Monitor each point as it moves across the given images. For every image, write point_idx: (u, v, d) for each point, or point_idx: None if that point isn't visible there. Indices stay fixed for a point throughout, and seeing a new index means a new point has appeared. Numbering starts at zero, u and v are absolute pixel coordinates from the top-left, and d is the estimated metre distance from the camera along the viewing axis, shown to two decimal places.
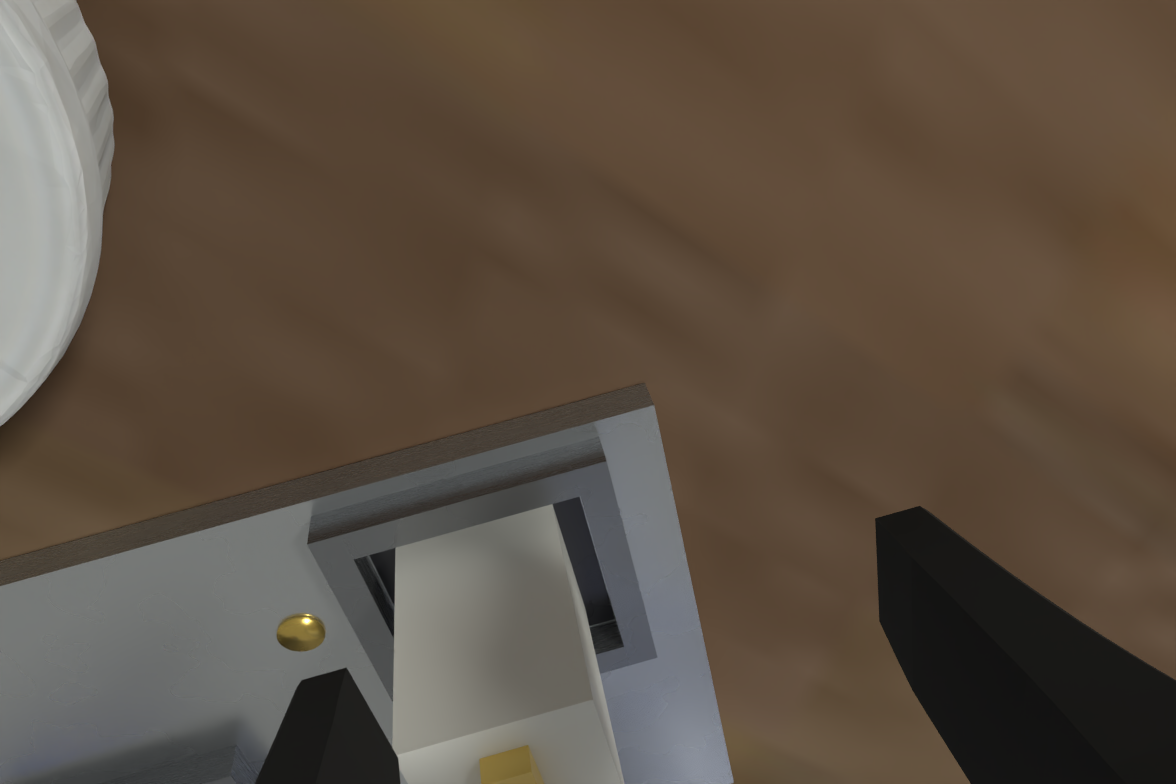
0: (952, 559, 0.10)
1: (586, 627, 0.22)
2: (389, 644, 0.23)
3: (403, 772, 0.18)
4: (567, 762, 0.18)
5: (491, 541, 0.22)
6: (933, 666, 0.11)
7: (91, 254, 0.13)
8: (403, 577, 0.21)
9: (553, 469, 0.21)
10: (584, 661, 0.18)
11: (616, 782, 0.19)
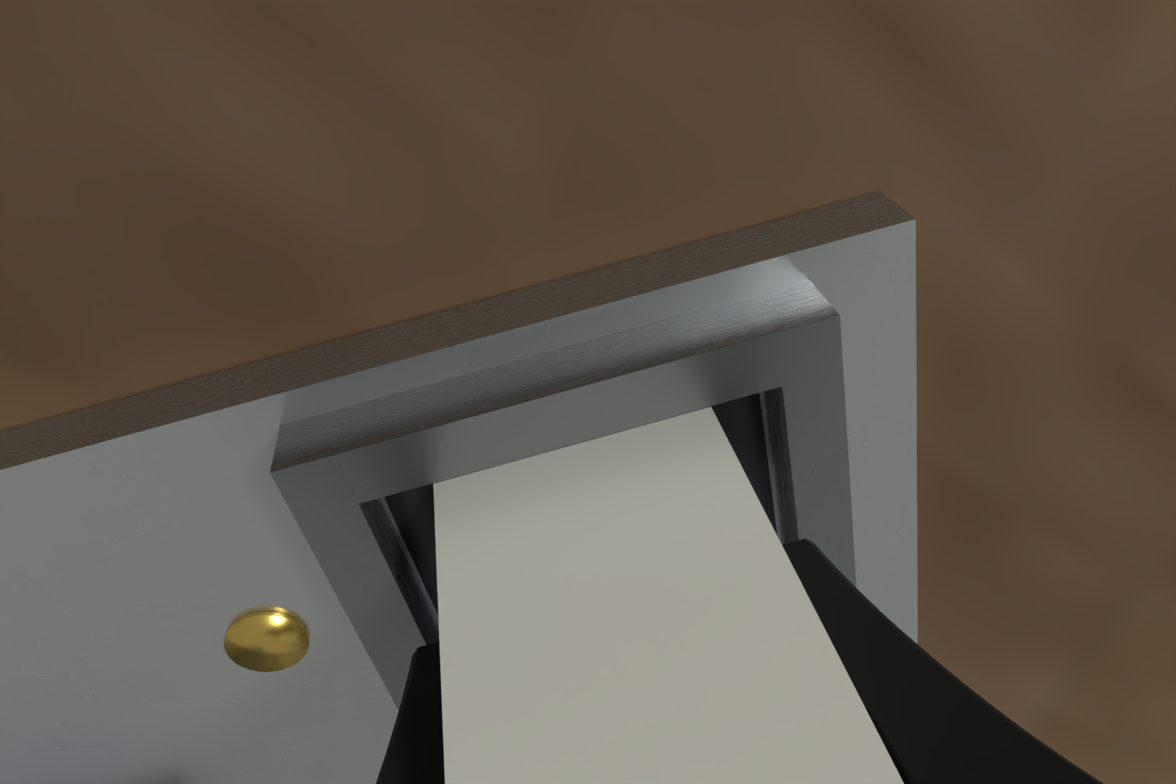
0: (824, 595, 0.10)
1: None
2: None
3: None
4: None
5: (611, 474, 0.12)
6: None
7: None
8: (451, 538, 0.11)
9: (736, 333, 0.11)
10: (861, 706, 0.08)
11: None
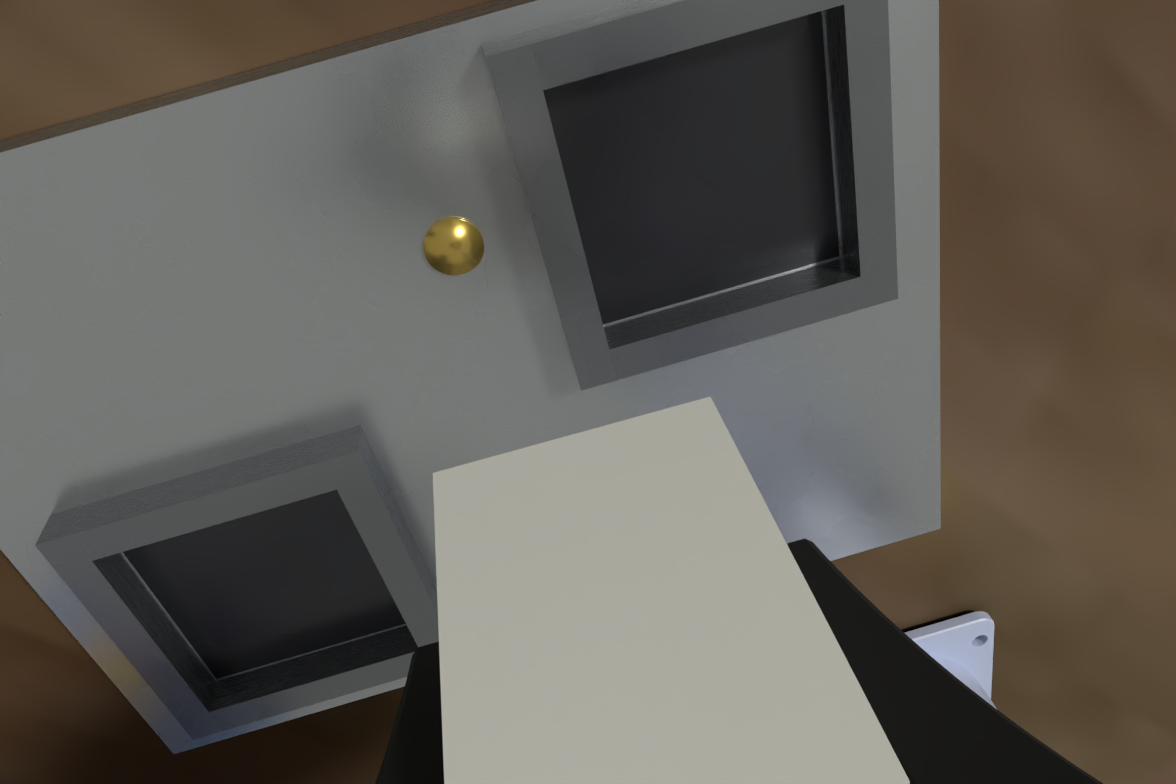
0: (824, 595, 0.10)
1: None
2: (574, 245, 0.17)
3: None
4: None
5: (610, 462, 0.12)
6: None
7: None
8: (450, 526, 0.11)
9: None
10: (860, 691, 0.08)
11: None
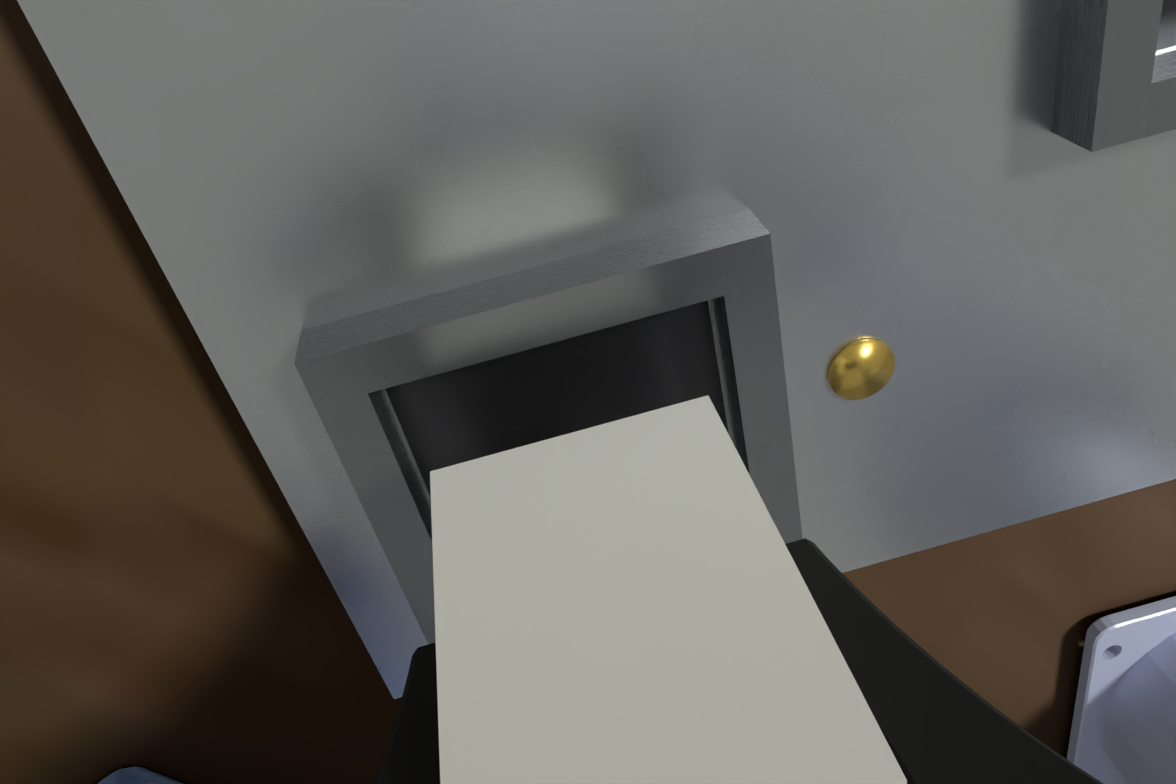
0: (825, 595, 0.10)
1: None
2: None
3: None
4: None
5: (607, 461, 0.12)
6: None
7: None
8: (447, 525, 0.11)
9: None
10: (857, 690, 0.08)
11: None
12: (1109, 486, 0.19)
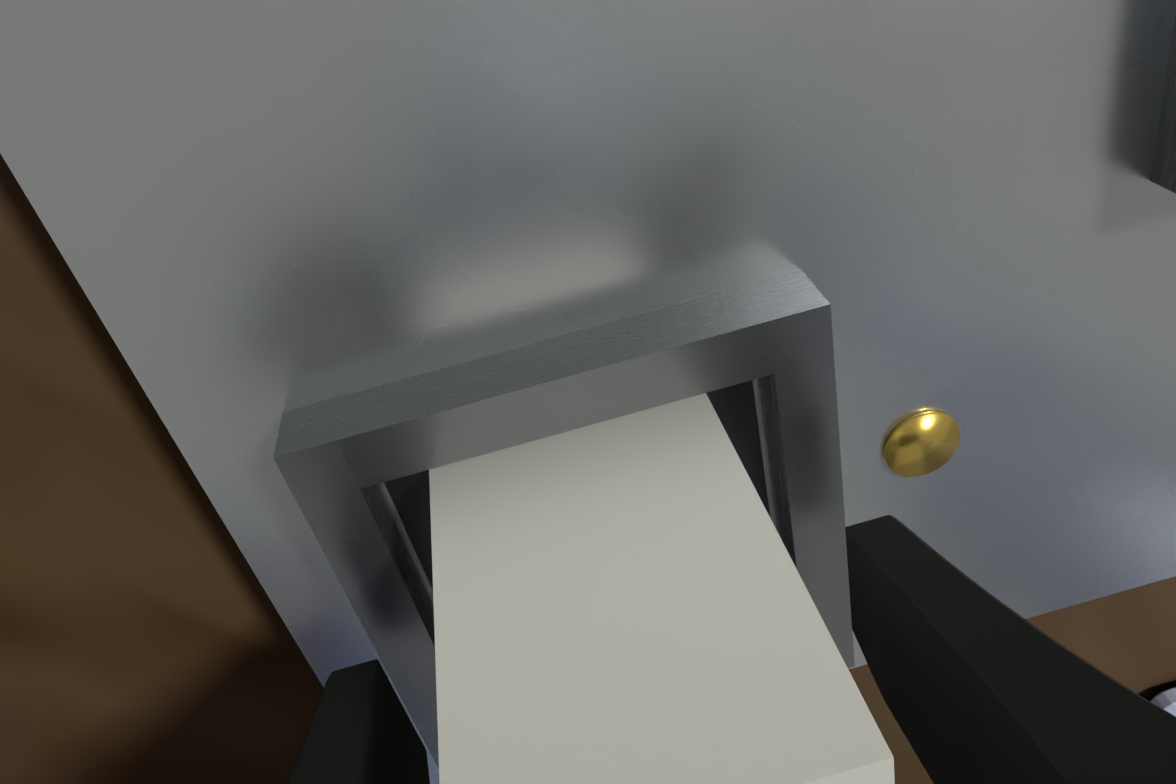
0: (918, 568, 0.10)
1: None
2: None
3: None
4: None
5: (603, 452, 0.12)
6: (901, 675, 0.11)
7: None
8: (446, 515, 0.12)
9: None
10: (846, 670, 0.09)
11: None
12: None
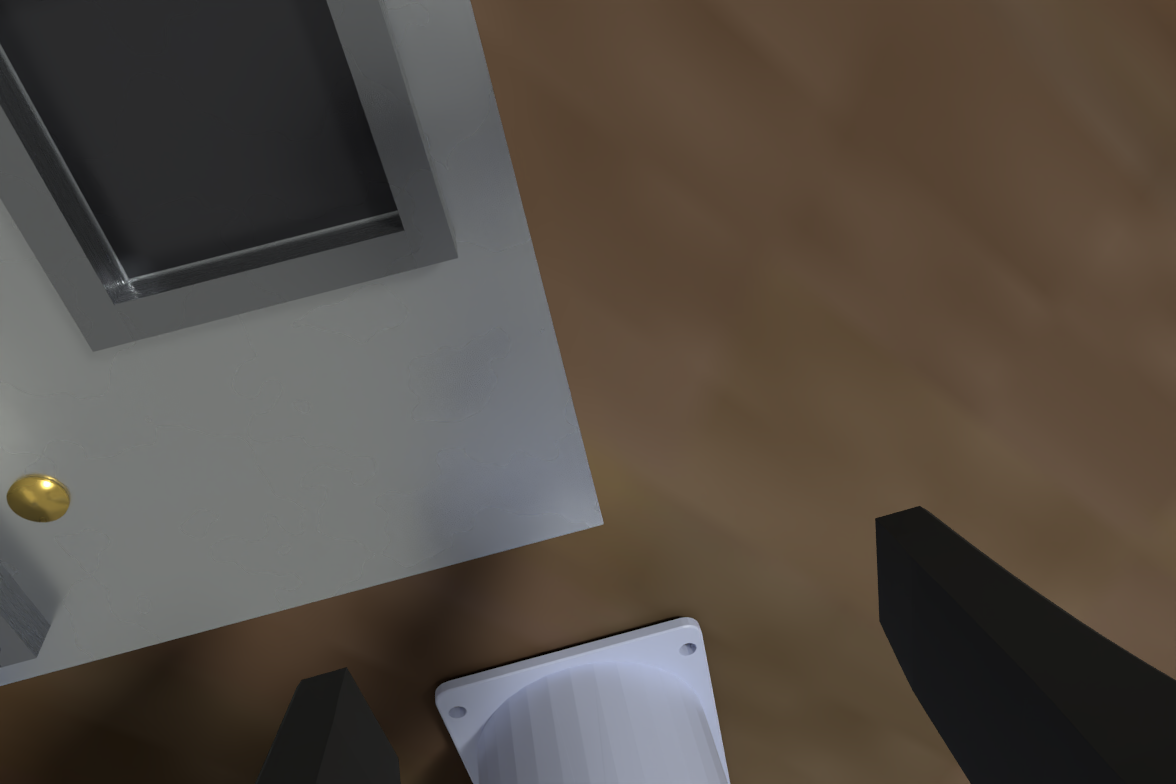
0: (952, 559, 0.10)
1: None
2: (31, 179, 0.15)
3: None
4: None
5: None
6: (933, 666, 0.11)
7: None
8: None
9: None
10: None
11: None
12: (345, 583, 0.22)
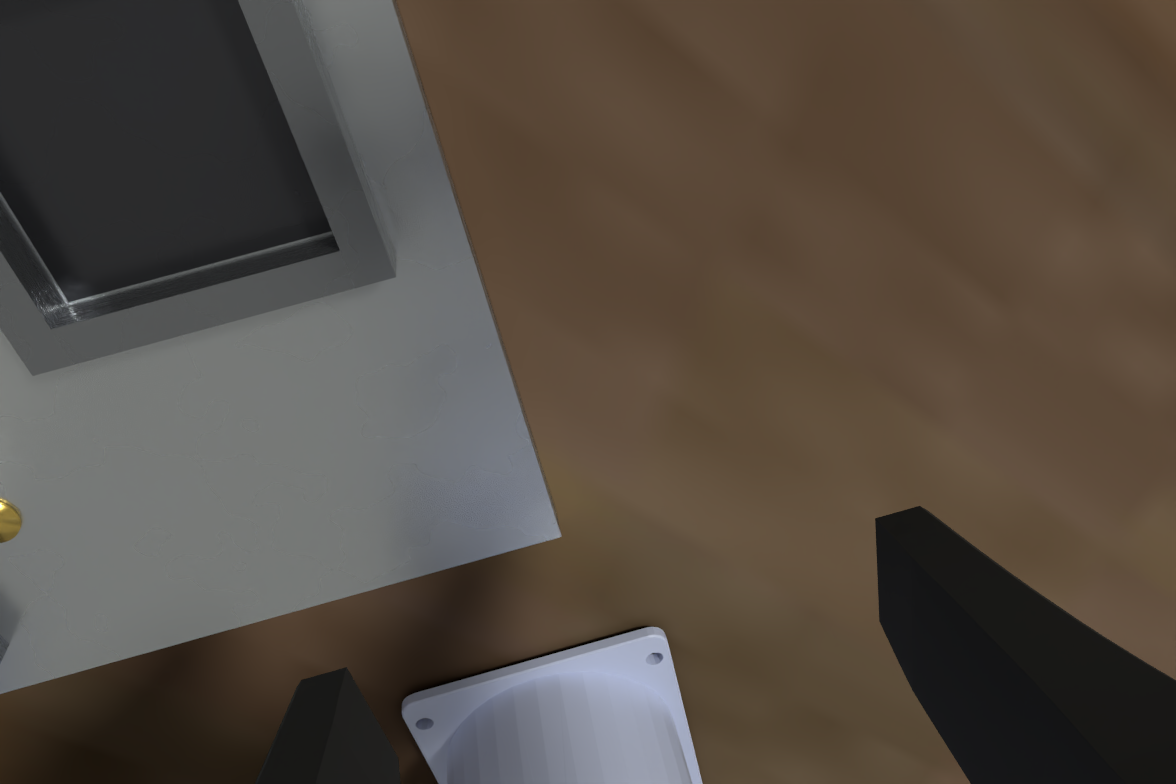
0: (952, 559, 0.10)
1: None
2: None
3: None
4: None
5: None
6: (932, 665, 0.11)
7: None
8: None
9: None
10: None
11: None
12: (303, 599, 0.22)
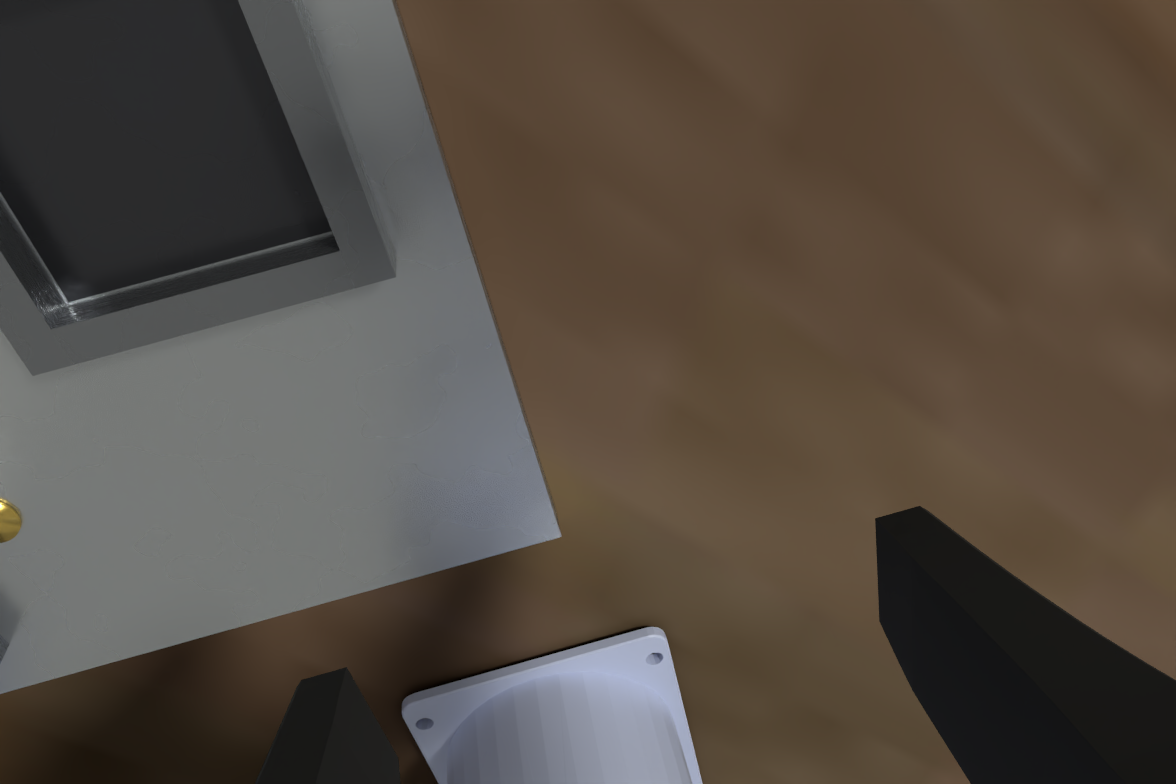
0: (952, 559, 0.10)
1: None
2: None
3: None
4: None
5: None
6: (932, 665, 0.11)
7: None
8: None
9: None
10: None
11: None
12: (303, 599, 0.22)
